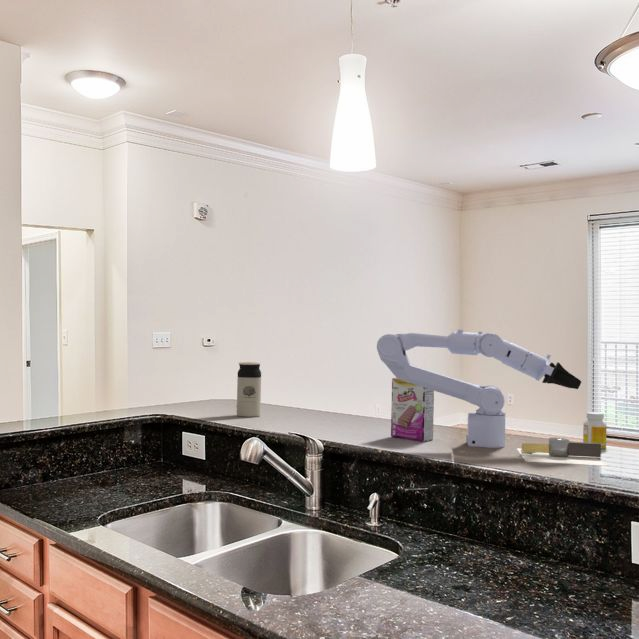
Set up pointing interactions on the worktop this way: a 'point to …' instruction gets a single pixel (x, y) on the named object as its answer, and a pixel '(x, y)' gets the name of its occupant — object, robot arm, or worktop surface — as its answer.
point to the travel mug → (249, 389)
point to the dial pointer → (564, 448)
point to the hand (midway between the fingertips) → (576, 385)
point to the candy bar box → (411, 411)
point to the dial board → (559, 458)
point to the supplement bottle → (595, 429)
